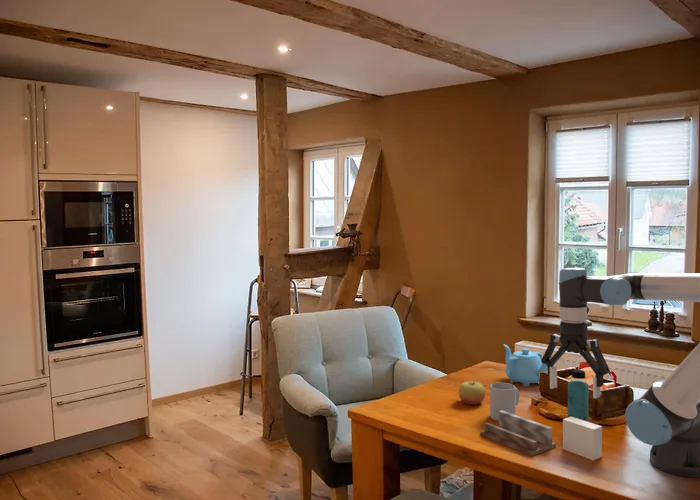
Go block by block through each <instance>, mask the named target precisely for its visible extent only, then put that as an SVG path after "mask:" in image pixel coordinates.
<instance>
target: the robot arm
mask: <svg viewBox="0 0 700 500" xmlns="http://www.w3.org/2000/svg"><path fill="white" fill-rule="evenodd" d="M558 277H559V278H558V280H559V282H558V290H559V291H558V292H559V320H561V321H560V322H559V333H560V335H559V334H558V333H554V334H551V335H550V339H549V343H548V344H547V347H546V350H545V352H544V353H543V355H542V360H541V362H542V363H544V364H546V365H547V372H546V374H547V377H549V389H550V390H552V389H555V388H558V369H557V368H558V366H557V365H556V363H557V362H558V361H559V360H560V358H562V356H563V355H564V354H565V353H566V352H567V353H574V354H579V355H580V357H581V356H582V357H583V359H584V360H585V361H586V364H587V365H588V366H589V367H590V369H591V370H592V371H593V373H594V375H592V399H595V400H596V399H599V398H600V397H601V395H602V394H601V387H603V386H604V376H606V375H607V374H610V373H611V370H610V368H609V366H608V363H607V362H606V359H605V357H604V355H603V353H602V351H601V348H600V346H599V345H600V344H599V340H598V339H596V338H595V339H588V322H587V320H588V303H593V304H594V303H595V304H603V305H604V304H605V305H610V306H618V305H619V306H623V305H626V304H628V302H629V301H630V300H636V301H637V300H642V301H644V300H645V301H665V302H666V301H667V302H669V301H671V302H689V303H690V302H691V303H700V273H687V272H686V273H677V272H676V273H671V272H670V273H661V272H659V273H657V272H655V273H650V272H649V273H642V272H636V271H635V272H634V271H633V272H627V273H622V274H614V275H609V276H596V275H595V276H593V275H588V272H587V269H585V268H584V267H583V268H582V267H565V268H561V269H560V270H559V276H558ZM559 342H560V343H561V346H559V348H558V349H557V350H556V352H555V353H554V351H555V349H556V347H557V345H558V343H559ZM587 346H588V347H589V348H590V349H589V348H588V347H587ZM553 353H554V354H553ZM591 353H592V354H591ZM624 419H625V420H626V426H627V428H628V429H629V431H630V432H631V434H632V435H633V436H634V437H635V438H636V439H637V440H638V441H640V442H642V443H643V444H646V445H650V446H651V448H650V451H649V462H650V463H651V465H652V466H654V467H655V468H657V469H659V470H661V471H662V472H665V473H667V474H668V473H669V474H672V475H675V476H680V477H685V478H687V477H688V478H700V342H698V344H697V345H696V346H695V347H694V348H693V349H692V350H691V351H690V352H689V354H688V355H687V356H686V357H685V358H684V359H683V361H682V362H680V364H679V365H678V366H677V367H676V368H675V370H673V371H672V373H670V375H669V376H668V377H667V378H666V379H661V380H659V381H655V382H653V383H652V385H651V386H650V387H649V388H648V389H647V390H646V391H645V392H644V393H643V395H642V396H640V397H639V398H638V399H634V400H633V401H631V403H629V404H628V405H627V407H626V409H625V413H624Z"/></svg>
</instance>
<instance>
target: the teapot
mask: <svg viewBox="0 0 700 500" xmlns="http://www.w3.org/2000/svg"><path fill="white" fill-rule="evenodd" d="M503 347H504V349H505V359H504V361H505V374H506V377H507V378H509V379H510V381H509V382H510V383H512V382H516V383H517V382H518V383H522V387H524V386H529V387H530V384H531V383H533V384H535V383H538V382H539V375H540V372H546V373H547V372H548V371H547V365H546V364H544V363H542V362H541V360H542V358H543V354H542V353H541V352H539V351H534V352H533V351H530V348H521V350H519V351H515V352H513V353H512V350H511V348H510V347H509V346H508V345H507V344H505V343H504V344H503Z"/></svg>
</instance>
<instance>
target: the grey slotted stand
mask: <svg viewBox="0 0 700 500" xmlns="http://www.w3.org/2000/svg"><path fill="white" fill-rule="evenodd" d="M479 434H480V435H481V436H482V437H484V438H487V437H488V439H489V438H490V440H492V439H493V440H492V441H494V440H495V441H494V442H497V441H498V442H497V443H499V442H500V443H499V444H502V445H504V444H505V445H504V446H506V445H507V446H506V447H509V448H511V449H514V450H516V449H517V450H516V451H519V452H521V451H522V452H521V453H523V452H524V454H526V455H528V454H529V455H528V456H531V457H533V456H536V454H537V455H538V454H541V453H544V452H547V451H548V450H549V451H550V450H551V449H554V448H556V447H557V444H556V443H555V442H553V426H552V427H551V426H549V425H545V424H543V423H539V422H537V421H534V420H531V419H529V418H526V417H522V416H520V415H517V414H516V415H515V414H512V413H509V412H506V411H503V410H501V411H499V421H498V425H495V424H492V423H489V422H485V423H484V430H481V431H479Z"/></svg>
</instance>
